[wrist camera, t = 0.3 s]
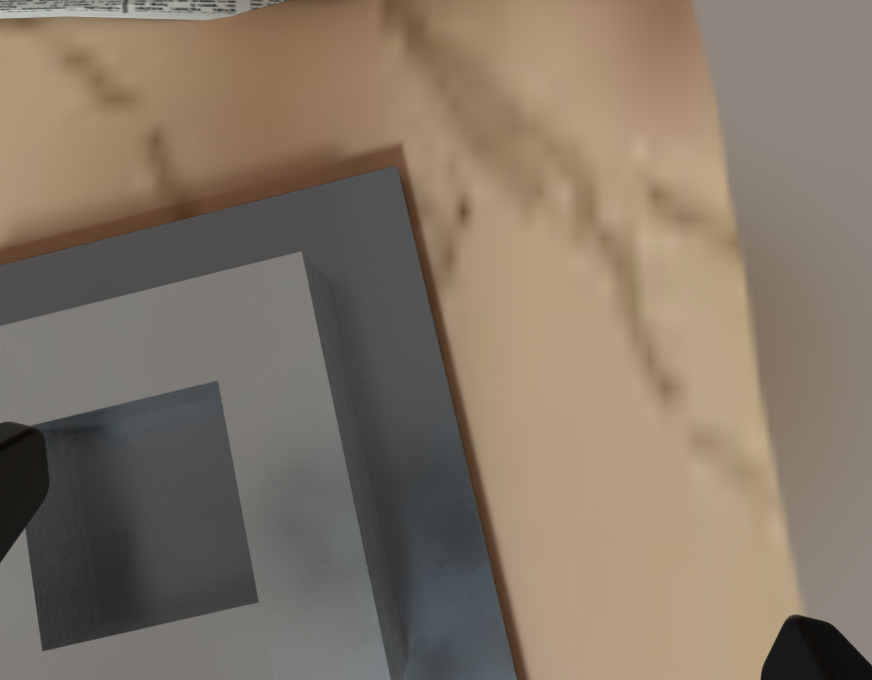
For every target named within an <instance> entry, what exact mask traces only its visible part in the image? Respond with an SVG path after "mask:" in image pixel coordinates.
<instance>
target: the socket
mask: <svg viewBox="0 0 872 680" xmlns="http://www.w3.org/2000/svg"><path fill="white" fill-rule="evenodd" d="M2 422H16V423H20V424H25V425H29V426H33V427H36V428H38V429H40V430H41V431H42V433H43V434H44V436H45V440H46V450H47V459H48V468H49V477H50V485H49V490H48V493H47V496H46V498H45V500H44V502H43V503H42V505H41V506H40V508H39V509H38V510H37V512H36V513H35V515H34V516H33V518H32V519H31V520H30V522H29V523H28V525H27V526H26V527H25V529H24V530H23V532H22V533H21V535H20V536H19V537H18V539H17V540H16V542H15V543H14V544H13V546H12V547H11V549H10V550H9V552H8V553H7V554H6V556H5V557H4V559H3V560H2V561H1V563H0V680H518V677H517V673H516V669H515V664H514V660H513V656H512V651H511V647H510V643H509V639H508V634H507V630H506V626H505V622H504V617H503V613H502V609H501V604H500V600H499V596H498V592H497V587H496V583H495V579H494V574H493V570H492V566H491V562H490V557H489V553H488V549H487V544H486V540H485V536H484V532H483V527H482V523H481V519H480V515H479V510H478V506H477V502H476V497H475V493H474V489H473V485H472V480H471V476H470V472H469V467H468V463H467V459H466V455H465V450H464V446H463V442H462V437H461V433H460V429H459V425H458V420H457V416H456V412H455V408H454V403H453V399H452V395H451V390H450V386H449V382H448V378H447V373H446V369H445V365H444V360H443V356H442V352H441V348H440V343H439V339H438V335H437V330H436V326H435V322H434V318H433V313H432V309H431V305H430V300H429V296H428V292H427V288H426V283H425V279H424V275H423V271H422V266H421V262H420V258H419V253H418V249H417V245H416V241H415V236H414V232H413V228H412V223H411V219H410V215H409V211H408V206H407V202H406V198H405V193H404V189H403V185H402V181H401V176H400V174H399V171H398V168H397V166H393V167H389V168H385V169H381V170H377V171H374V172H370V173H366V174H362V175H358V176H354V177H350V178H346V179H342V180H338V181H334V182H330V183H326V184H322V185H318V186H314V187H310V188H306V189H302V190H298V191H294V192H290V193H286V194H282V195H278V196H274V197H270V198H266V199H262V200H258V201H254V202H250V203H247V204H243V205H239V206H235V207H231V208H227V209H223V210H219V211H215V212H211V213H207V214H203V215H199V216H195V217H191V218H187V219H183V220H179V221H175V222H171V223H167V224H163V225H159V226H155V227H151V228H147V229H143V230H139V231H135V232H131V233H127V234H123V235H119V236H116V237H112V238H108V239H104V240H100V241H96V242H92V243H88V244H84V245H80V246H76V247H72V248H68V249H64V250H60V251H56V252H52V253H48V254H44V255H40V256H36V257H32V258H28V259H24V260H20V261H16V262H12V263H8V264H4V265H0V423H2Z"/></svg>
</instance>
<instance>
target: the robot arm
mask: <svg viewBox="0 0 872 680" xmlns="http://www.w3.org/2000/svg"><path fill="white" fill-rule="evenodd" d="M49 485H50V477H49V468H48V459H47V450H46V440H45V436H44V434H43V433H42V431H41V430H40V429H38V428H36V427H33V426H29V425H25V424H20V423H16V422H2V423H0V563H1V561H2V560H3V559H4V557H5V556H6V554H7V553H8V552H9V550H10V549H11V547H12V546H13V544H14V543H15V542H16V540H17V539H18V537H19V536H20V535H21V533H22V532H23V530H24V529H25V527H26V526H27V525H28V523H29V522H30V520H31V519H32V518H33V516H34V515H35V513H36V512H37V510H38V509H39V508H40V506H41V505H42V503H43V502H44V500H45V498H46V496H47V493H48V490H49ZM761 680H872V665H871V664H870V663H869V662H868V661H867V660H866V659H865V658H864V657H863V656H862V655H861V654H860V653H859V652H858V651H857V650H856V648H855V647H854V646H853V645H852V644H851V643H850V642H849V641H848V640H847V639H846V638H845V637H844V636H843V635H842V634H841V633H840V632H839V631H838V630H837V629H836V628H835V627H834V626H833V625H831V624H830V623H828V622H825V621H822V620H818V619H813V618H809V617H805V616H801V615H792V616H789V617H788V618H787V619H786V621H785V622H784V624H783V626H782V628H781V630H780V632H779V634H778V636H777V638H776V640H775V642H774V644H773V646H772V648H771V650H770V652H769V654H768V656H767V658H766V660H765V662H764V665H763V668H762V673H761Z"/></svg>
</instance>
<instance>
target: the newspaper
mask: <svg viewBox="0 0 872 680" xmlns="http://www.w3.org/2000/svg"><path fill="white" fill-rule="evenodd" d="M284 1H288V0H0V18H30V17H62V16H78V17H113V18H148V19H183V20H211V19H217V18H223V17H229V16H234V15H237V14H239V13H242V12H246V11H250V10H253V9H257V8H261V7H265V6H269V5H273V4H277V3H281V2H284Z"/></svg>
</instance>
